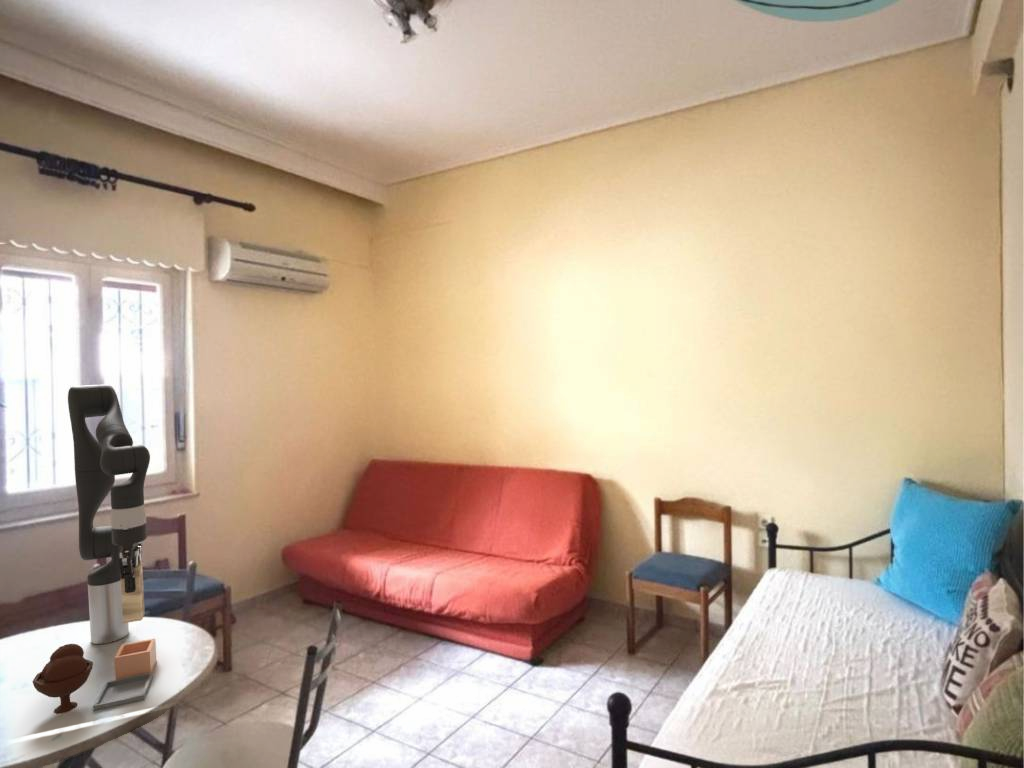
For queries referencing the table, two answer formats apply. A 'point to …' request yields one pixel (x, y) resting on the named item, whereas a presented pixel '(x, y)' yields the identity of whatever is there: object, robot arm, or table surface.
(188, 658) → the table surface
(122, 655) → the orange open box
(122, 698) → the grey square tray
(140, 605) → the birch peg
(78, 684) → the ice cream bowl
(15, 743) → the table surface
